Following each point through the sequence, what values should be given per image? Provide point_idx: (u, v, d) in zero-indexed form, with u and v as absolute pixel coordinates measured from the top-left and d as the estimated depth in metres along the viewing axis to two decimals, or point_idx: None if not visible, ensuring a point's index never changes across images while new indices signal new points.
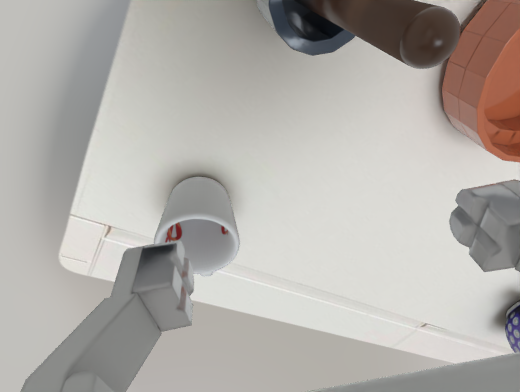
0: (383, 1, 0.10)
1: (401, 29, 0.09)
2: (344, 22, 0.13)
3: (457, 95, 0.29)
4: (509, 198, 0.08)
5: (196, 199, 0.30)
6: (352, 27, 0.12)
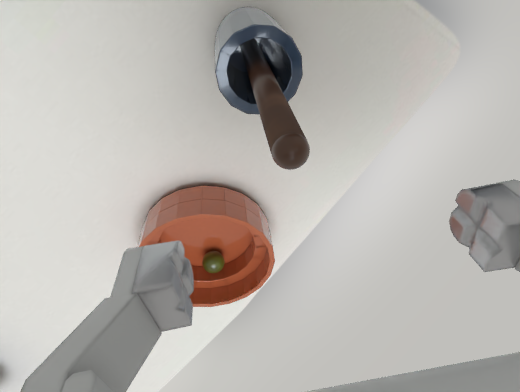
0: None
1: (296, 131, 0.13)
2: (267, 93, 0.17)
3: (180, 201, 0.35)
4: (509, 198, 0.08)
5: None
6: (269, 99, 0.16)
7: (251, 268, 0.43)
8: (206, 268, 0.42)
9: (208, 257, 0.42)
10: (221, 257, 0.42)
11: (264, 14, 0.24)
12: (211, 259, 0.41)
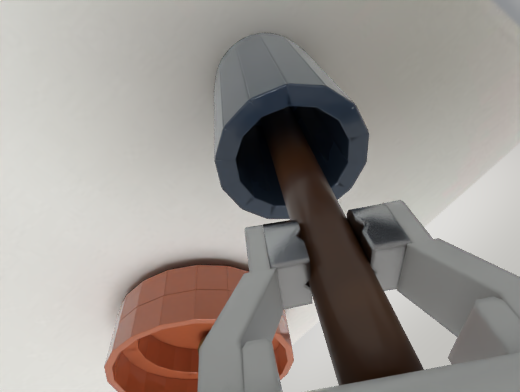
0: None
1: None
2: (338, 273, 0.07)
3: (166, 293, 0.25)
4: (386, 220, 0.08)
5: None
6: (350, 310, 0.06)
7: None
8: None
9: None
10: None
11: (295, 50, 0.15)
12: None
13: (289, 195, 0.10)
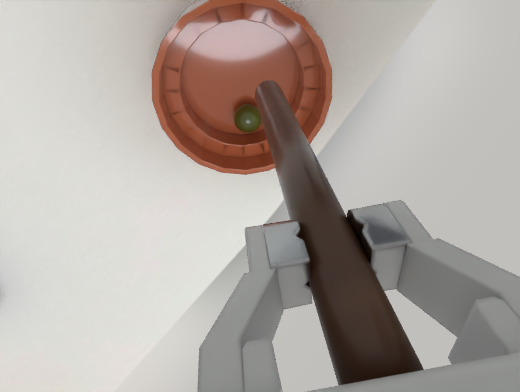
0: None
1: None
2: (338, 272, 0.07)
3: None
4: (386, 220, 0.08)
5: None
6: (350, 309, 0.06)
7: None
8: (239, 122, 0.33)
9: (242, 108, 0.33)
10: (258, 110, 0.33)
11: None
12: (246, 109, 0.33)
13: (289, 194, 0.10)
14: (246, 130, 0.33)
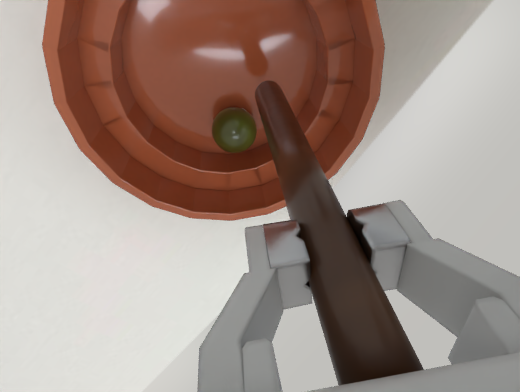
0: None
1: None
2: (338, 273, 0.07)
3: None
4: (386, 220, 0.08)
5: None
6: (350, 310, 0.06)
7: None
8: (220, 136, 0.20)
9: (225, 113, 0.20)
10: (251, 117, 0.21)
11: None
12: (231, 116, 0.20)
13: (289, 195, 0.10)
14: (232, 149, 0.21)
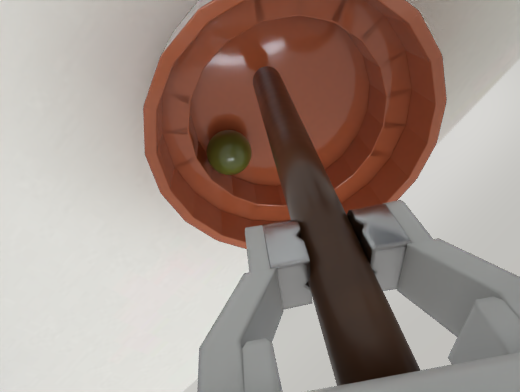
0: None
1: None
2: (348, 274, 0.07)
3: None
4: (386, 220, 0.08)
5: None
6: (361, 313, 0.06)
7: (360, 180, 0.23)
8: None
9: None
10: (221, 132, 0.20)
11: None
12: None
13: (293, 187, 0.10)
14: None
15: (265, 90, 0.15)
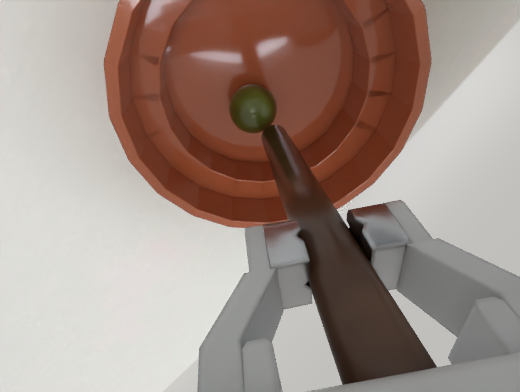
0: None
1: None
2: (349, 276, 0.07)
3: None
4: (386, 220, 0.08)
5: None
6: (364, 310, 0.06)
7: (345, 155, 0.22)
8: (235, 124, 0.20)
9: None
10: (245, 86, 0.19)
11: None
12: None
13: (295, 211, 0.10)
14: (248, 126, 0.19)
15: (271, 141, 0.16)
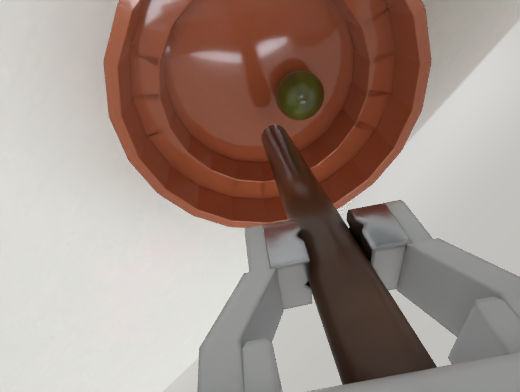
0: None
1: None
2: (349, 276, 0.07)
3: None
4: (386, 220, 0.08)
5: None
6: (364, 310, 0.06)
7: (345, 155, 0.22)
8: (320, 104, 0.19)
9: (302, 99, 0.18)
10: (295, 73, 0.19)
11: None
12: (306, 91, 0.18)
13: (295, 211, 0.10)
14: None
15: (271, 141, 0.16)
